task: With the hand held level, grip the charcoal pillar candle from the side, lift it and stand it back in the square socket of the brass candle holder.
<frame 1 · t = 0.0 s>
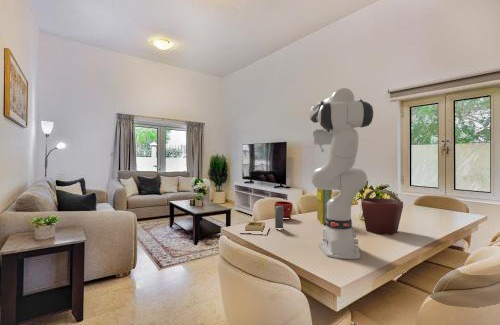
hand: (330, 151, 152), 48 cm above the table, tool pointing down, fingers open, 8 cm apart
maroon tapered planter: (379, 231, 150), on the table
book: (323, 222, 174), on the table
candle: (279, 229, 155), on the table
candle holder: (255, 230, 151), on the table
plant pot: (283, 219, 183), on the table
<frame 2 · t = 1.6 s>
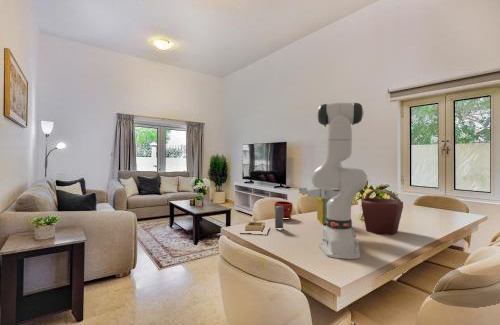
hand: (299, 190, 152), 24 cm above the table, tool horizontal, fingers open, 8 cm apart
nothing on the table moved.
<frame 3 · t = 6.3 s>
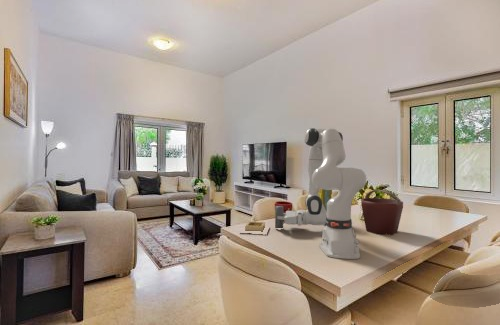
hand: (277, 216, 155), 8 cm above the table, tool horizontal, fingers closed on candle, 5 cm apart
candle: (279, 229, 155), on the table, touching gripper
everything else where it was.
when the fingers open (10 cm above the table, at t = 12.4 s): candle stays where it is, resting on candle holder.
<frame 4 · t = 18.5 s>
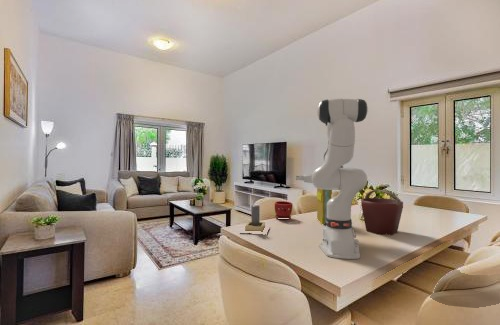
hand: (295, 177, 154), 32 cm above the table, tool horizontal, fingers open, 8 cm apart
candle: (255, 228, 151), point 1 cm above the table, touching candle holder
everything else where it was.
at the end: candle 0.1 cm off-centre on the candle holder, point 1.0 cm above the candle holder's base; candle tilted 1°; the gripper is holding nothing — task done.
